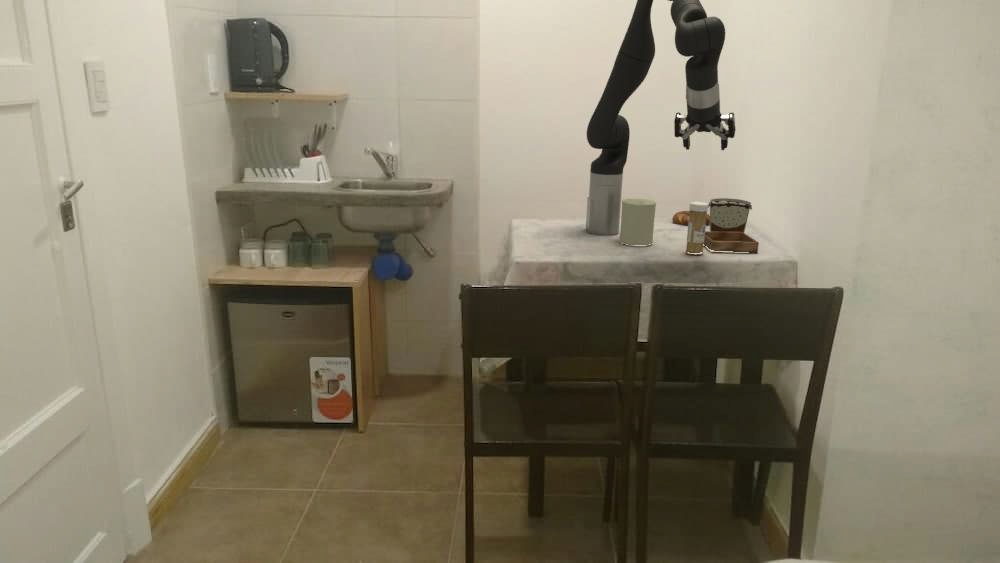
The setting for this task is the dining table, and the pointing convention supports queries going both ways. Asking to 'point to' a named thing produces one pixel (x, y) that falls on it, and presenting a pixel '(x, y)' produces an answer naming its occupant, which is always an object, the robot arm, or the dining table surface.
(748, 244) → the box
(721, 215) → the food container
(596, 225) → the robot arm
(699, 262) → the dining table surface
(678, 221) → the pretzel
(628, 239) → the can
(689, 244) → the sprinkles bottle
